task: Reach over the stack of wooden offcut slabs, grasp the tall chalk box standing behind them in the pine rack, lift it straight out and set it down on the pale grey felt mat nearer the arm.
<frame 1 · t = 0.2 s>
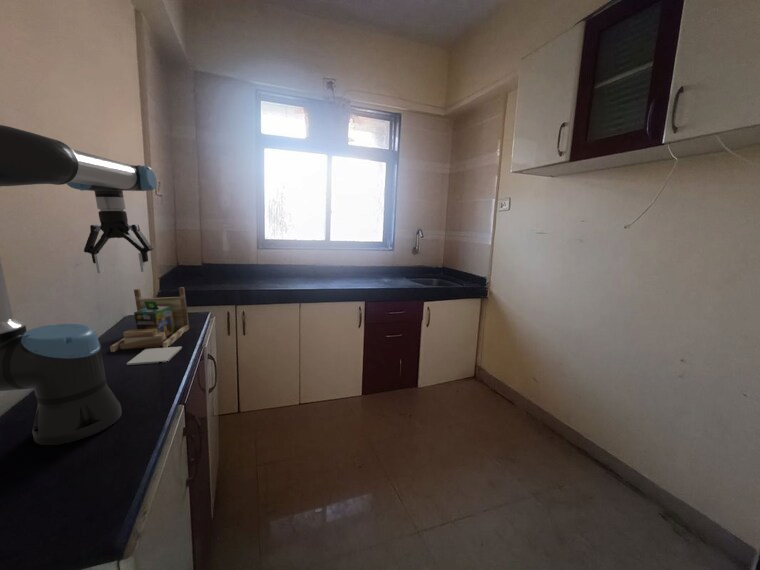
hand: (123, 271, 118), 28 cm above the counter, tool pointing down, fingers open, 13 cm apart
offcut stack: (144, 345, 123), resting in rack
chalk box: (157, 336, 133), resting in rack
rack: (153, 338, 130), on the counter
felt mat: (156, 356, 114), on the counter
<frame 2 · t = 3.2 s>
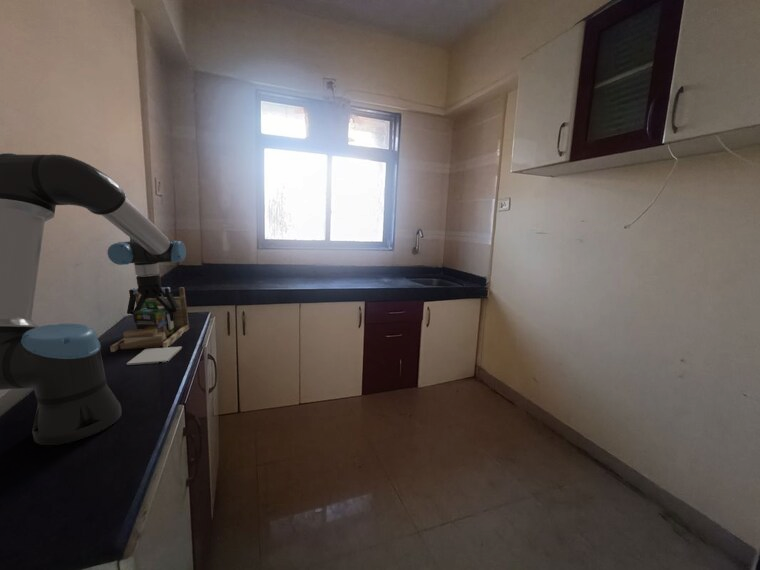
hand: (156, 329, 132), 3 cm above the counter, tool pointing down, fingers closed on chalk box, 10 cm apart
chalk box: (157, 336, 133), resting in rack, touching gripper
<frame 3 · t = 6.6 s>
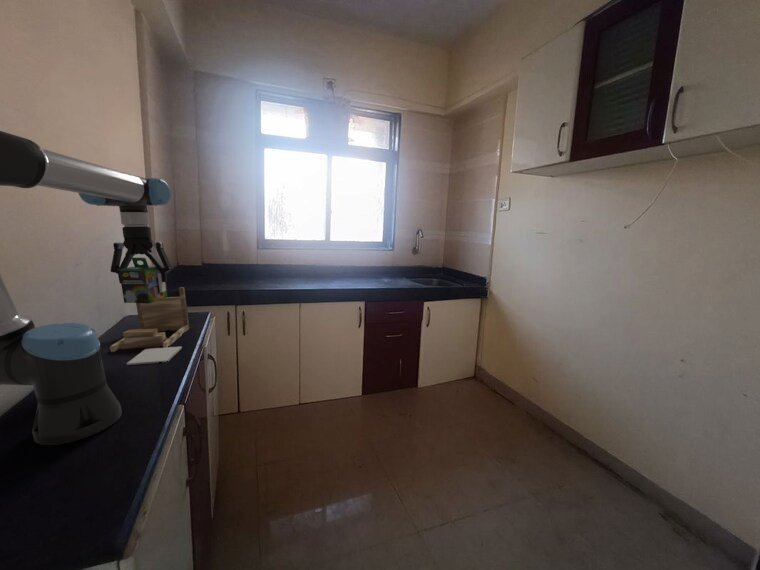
hand: (145, 292, 113), 22 cm above the counter, tool pointing down, fingers closed on chalk box, 10 cm apart
chalk box: (146, 301, 114), point 19 cm above the counter, touching gripper
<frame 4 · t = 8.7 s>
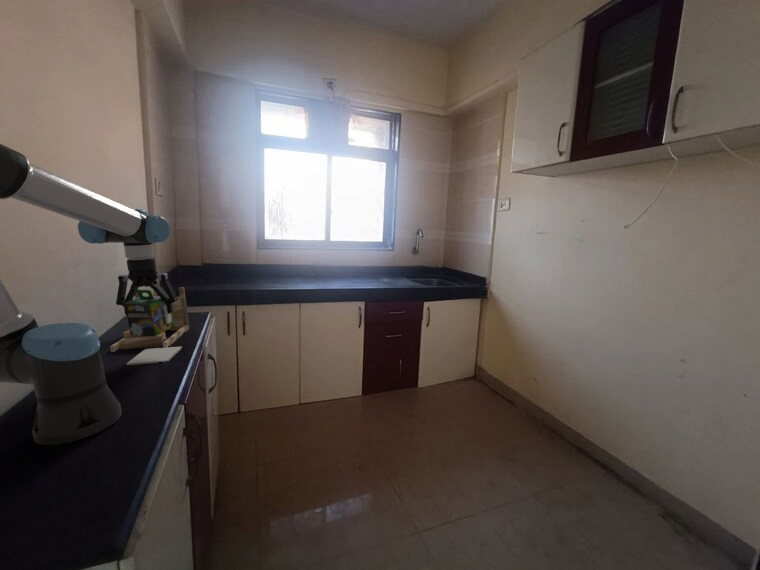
hand: (151, 323, 112), 12 cm above the counter, tool pointing down, fingers closed on chalk box, 10 cm apart
chalk box: (152, 332, 113), point 9 cm above the counter, touching gripper
when the fingers open (4 cm above the counter, at t = 10.4 s): chalk box stays where it is, resting on felt mat.
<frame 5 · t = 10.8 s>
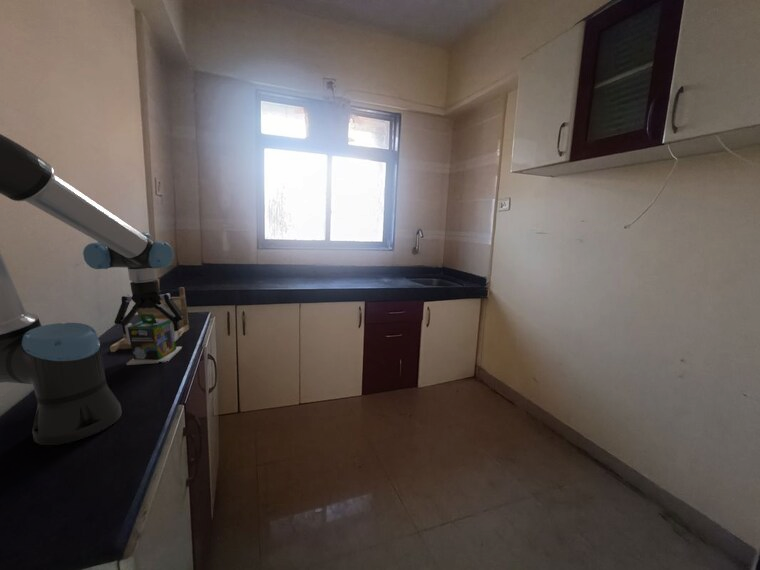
hand: (153, 341, 113), 5 cm above the counter, tool pointing down, fingers open, 13 cm apart
chalk box: (155, 354, 114), resting on felt mat
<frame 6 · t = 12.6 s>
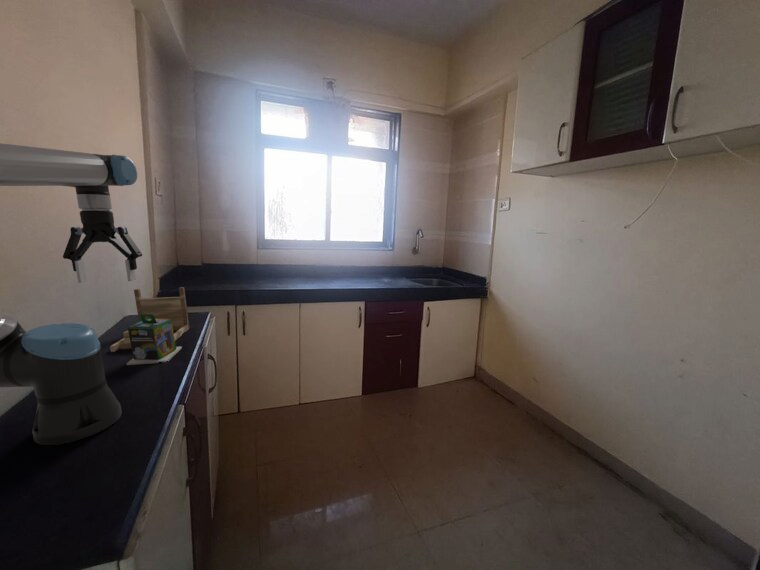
hand: (107, 281, 102), 28 cm above the counter, tool pointing down, fingers open, 13 cm apart
nothing on the counter moved.
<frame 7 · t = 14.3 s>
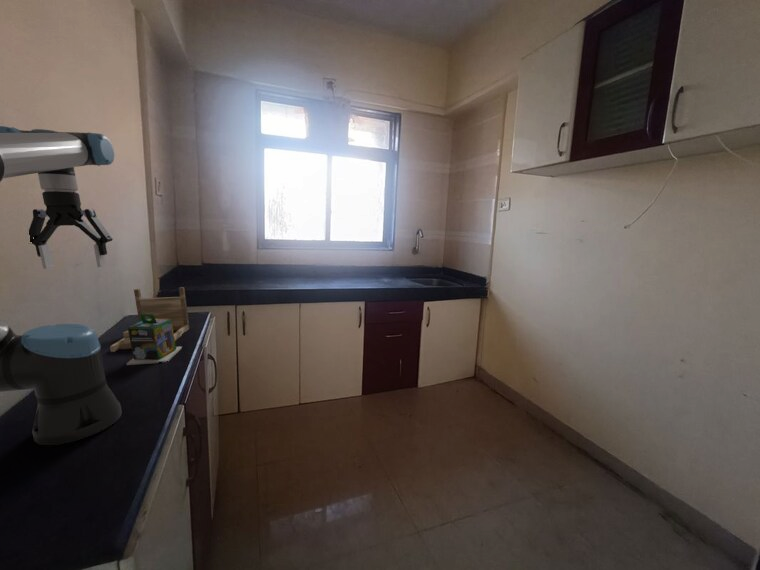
hand: (75, 267, 97), 33 cm above the counter, tool pointing down, fingers open, 13 cm apart
nothing on the counter moved.
at the end: chalk box inside the target area on the felt mat (0.1 cm from its centre), point 0.4 cm above the felt mat's base; chalk box tilted 0°; the gripper is holding nothing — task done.
